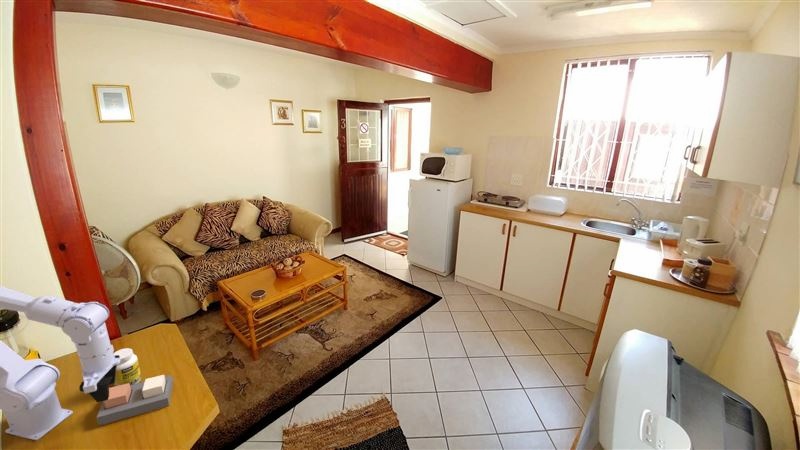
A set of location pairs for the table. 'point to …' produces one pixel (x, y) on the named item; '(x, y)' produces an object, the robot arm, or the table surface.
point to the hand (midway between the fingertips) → (106, 391)
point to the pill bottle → (127, 368)
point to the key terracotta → (118, 396)
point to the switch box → (136, 403)
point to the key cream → (154, 386)
